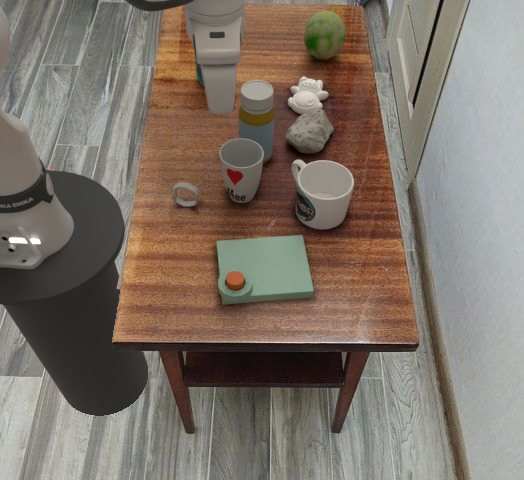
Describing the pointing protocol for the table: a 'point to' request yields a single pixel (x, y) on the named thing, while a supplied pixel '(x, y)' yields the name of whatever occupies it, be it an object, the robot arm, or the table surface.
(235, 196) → the cup
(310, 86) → the astronaut figurine
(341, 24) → the decorative ball
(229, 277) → the button
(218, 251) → the scale
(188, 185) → the wristwatch
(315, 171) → the mug
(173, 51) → the table surface
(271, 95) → the bottle
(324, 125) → the decorative stone
